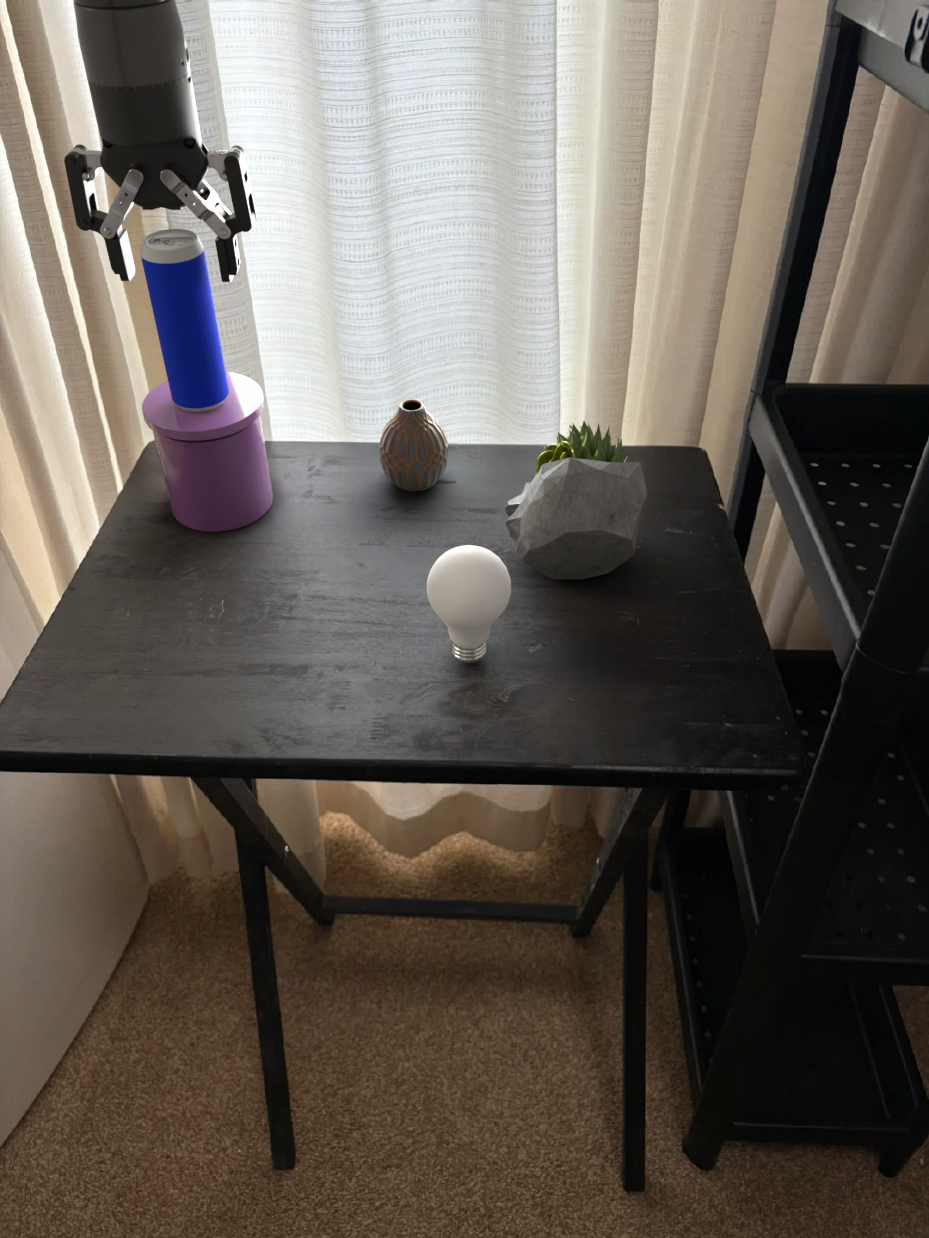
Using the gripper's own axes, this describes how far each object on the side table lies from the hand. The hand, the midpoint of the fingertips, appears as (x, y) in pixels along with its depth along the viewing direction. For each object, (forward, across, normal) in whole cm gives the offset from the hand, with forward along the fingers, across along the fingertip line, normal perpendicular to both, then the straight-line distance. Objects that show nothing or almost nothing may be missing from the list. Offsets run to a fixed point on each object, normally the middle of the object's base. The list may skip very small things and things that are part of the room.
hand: (179, 278), depth 88 cm
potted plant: (+23, +34, -7) cm, 42 cm away
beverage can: (+12, 0, 0) cm, 12 cm away
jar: (+23, 0, 0) cm, 23 cm away
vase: (+23, +19, +4) cm, 30 cm away
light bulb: (+23, +25, -22) cm, 41 cm away
